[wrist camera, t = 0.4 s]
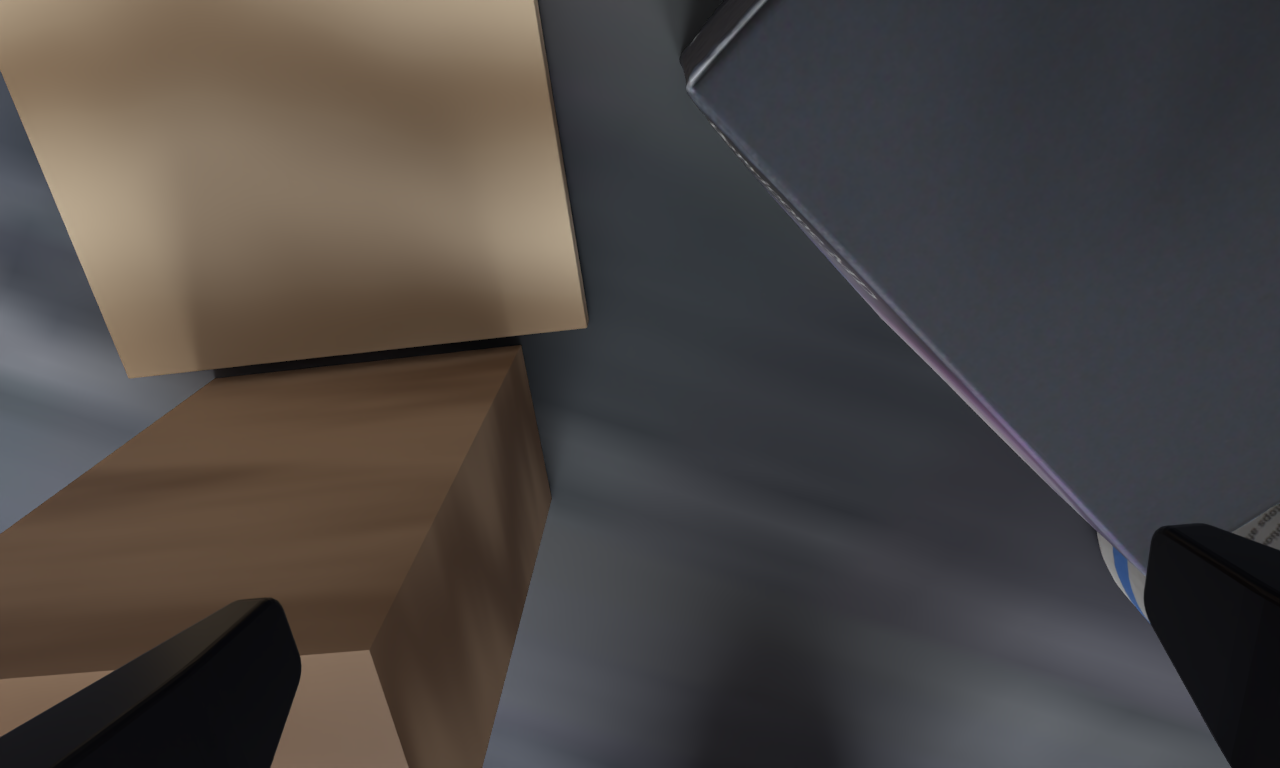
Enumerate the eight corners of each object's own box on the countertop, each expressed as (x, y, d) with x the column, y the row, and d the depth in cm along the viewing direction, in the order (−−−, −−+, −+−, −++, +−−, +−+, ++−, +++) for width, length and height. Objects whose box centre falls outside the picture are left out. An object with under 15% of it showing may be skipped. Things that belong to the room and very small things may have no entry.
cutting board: (589, 320, 21) (586, 327, 21) (142, 370, 22) (128, 378, 22) (484, -329, 16) (477, -344, 15) (-101, -224, 17) (-126, -233, 16)
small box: (659, 69, 19) (648, 90, 9) (870, -166, 17) (1145, -457, 7) (933, 356, 21) (1150, 608, 12) (1144, 183, 19) (1613, 315, 10)
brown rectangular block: (553, 506, 24) (454, 903, 13) (272, 532, 24) (-54, 930, 13) (521, 344, 22) (368, 650, 11) (215, 378, 22) (-226, 697, 11)
